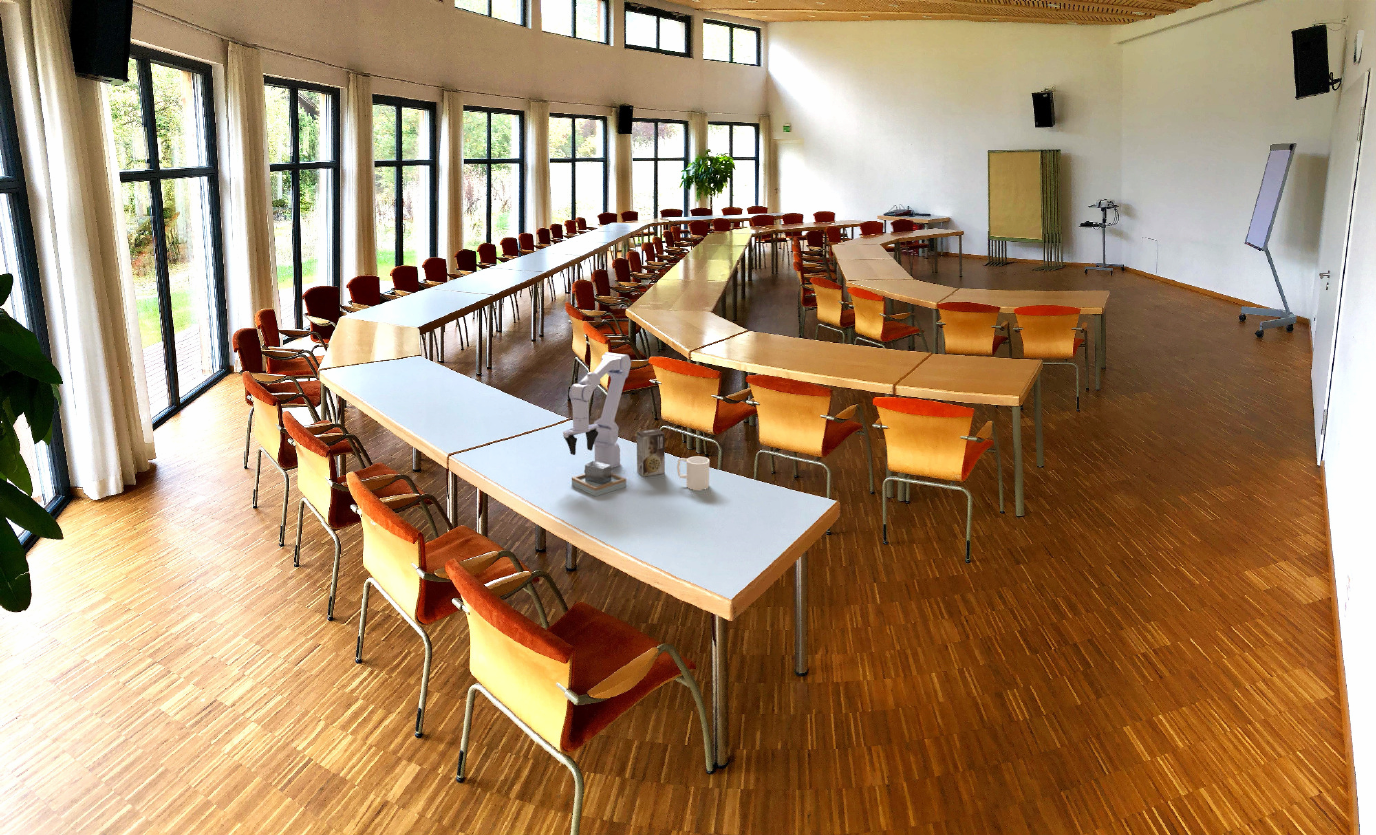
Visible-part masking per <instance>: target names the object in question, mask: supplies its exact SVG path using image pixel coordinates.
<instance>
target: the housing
mask: <svg viewBox="0 0 1376 835" xmlns="http://www.w3.org/2000/svg"><path fill="white" fill-rule="evenodd" d="M583 472H584V473H583V474H585V481H589V482H593V483H598V484H602V485H603V484H606V483H608V482H610V481H611V472H612V468H611V465H609V464H604V463H600V462H596V461H595V460H592V461H590V462H589V463H586V464H585V465H584V471H583Z"/></svg>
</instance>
